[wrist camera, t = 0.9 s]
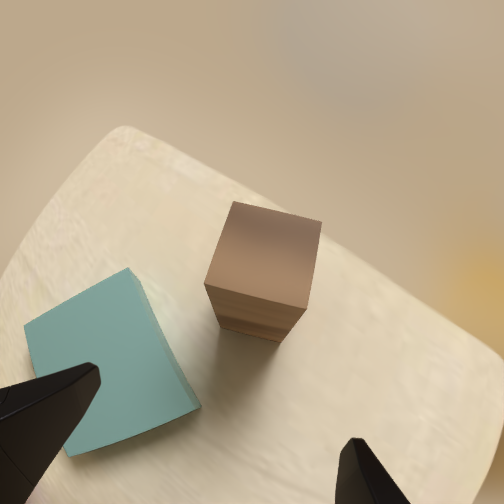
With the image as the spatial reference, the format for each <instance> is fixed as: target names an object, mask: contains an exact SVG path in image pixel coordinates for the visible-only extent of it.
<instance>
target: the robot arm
mask: <svg viewBox="0 0 504 504" xmlns="http://www.w3.org/2000/svg"><path fill="white" fill-rule="evenodd" d="M100 386H101V377H100V371H99V367H98V366H97V365H95V364H93V363H91V362H85V363H82V364H79V365H76V366H73V367H70V368H67V369H64V370H61V371H58V372H55V373H52V374H49V375H45V376H42V377H39V378H36V379H32V380H29V381H26V382H22V383H19V384H15V385H12V386H11V387H10V386H8V387H4V388H1V389H0V504H25V502H26V501H27V499H28V497H29V496H30V494H31V493H32V491H33V490H34V488H35V486H36V485H37V483H38V482H39V480H40V479H41V477H42V476H43V474H44V473H45V471H46V470H47V468H48V467H49V465H50V464H51V462H52V461H53V460H54V458H55V457H56V455H57V454H58V452H59V451H60V449H61V448H62V446H63V445H64V444H65V442H66V441H67V439H68V438H69V437H70V435H71V434H72V432H73V431H74V429H75V428H76V427H77V425H78V424H79V422H80V421H81V420H82V418H83V417H84V415H85V413H86V412H87V410H88V408H89V406H90V404H91V402H92V401H93V399H94V397H95V395H96V393H97V392H98V390H99V388H100ZM335 504H410V502H409V501H408V500H407V498H406V497H405V495H404V494H403V493H402V491H401V490H400V489H399V487H398V486H397V485H396V483H395V482H394V481H393V479H392V478H391V476H390V475H389V474H388V472H387V471H386V470H385V468H384V467H383V465H382V464H381V463H380V461H379V460H378V459H377V457H376V456H375V454H374V453H373V452H372V450H371V449H370V447H369V446H368V445H367V443H366V442H365V440H364V439H362V438H351V439H350V440H349V441H348V443H347V444H346V445H345V446H344V448H343V449H342V451H341V453H340V459H339V467H338V475H337V482H336V490H335Z"/></svg>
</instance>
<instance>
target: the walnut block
mask: <svg viewBox="0 0 504 504" xmlns="http://www.w3.org/2000/svg"><path fill="white" fill-rule="evenodd" d="M321 224H322V222H320V221H316V220H312V219H308V218H304V217H300V216H296V215H292V214H288V213H283V212H279V211H275V210H271V209H266V208H262V207H257V206H253V205H248V204H244V203H239V202H235V201H233V203H232V206H231V209H230V211H229V214H228V217H227V219H226V222H225V225H224V228H223V230H222V233H221V236H220V239H219V241H218V244H217V247H216V250H215V253H214V255H213V258H212V261H211V264H210V267H209V270H208V273H207V275H206V278H205V281H204V285H205V288H206V291H207V293H208V296H209V299H210V301H211V304H212V307H213V309H214V312H215V315H216V317H217V320H218V322H219V325H220V327H221V328H225V329H229V330H232V331H236V332H240V333H244V334H248V335H251V336H255V337H259V338H263V339H268V340H272V341H276V342H280V343H281V342H282V341H283V339H284V338H285V337H286V336H287V334H288V333H289V332H290V331H291V329H292V328H293V327H294V325H295V324H296V323H297V321H298V320H299V319H300V317H301V316H302V315H303V313H304V312H305V311H306V309H307V305H308V300H309V295H310V290H311V284H312V279H313V273H314V268H315V262H316V256H317V250H318V244H319V238H320V231H321Z"/></svg>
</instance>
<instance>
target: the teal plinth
mask: <svg viewBox="0 0 504 504" xmlns="http://www.w3.org/2000/svg"><path fill="white" fill-rule="evenodd" d="M24 330H25V335H26V339H27V344H28V348H29V352H30V356H31V360H32V363H33V367H34V371H35V374H36V377H37V378H39V377H42V376H45V375H49V374H52V373H55V372H58V371H61V370H64V369H67V368H70V367H73V366H76V365H79V364H82V363H85V362H91V363H93V364H95V365H97V366H98V367H99V371H100V377H101V386H100V388H99V390H98V392H97V393H96V395H95V397H94V399H93V401H92V402H91V404H90V406H89V408H88V410H87V412H86V413H85V415H84V417H83V418H82V420H81V421H80V422H79V424H78V425H77V427H76V428H75V429H74V431H73V432H72V434H71V435H70V437H69V438H68V439H67V441H66V442H65V444H64V445H63V447H64V449H65V451H66V453H67V455H68V457H71V456H75V455H78V454H82V453H86V452H89V451H92V450H95V449H98V448H101V447H104V446H107V445H110V444H113V443H116V442H119V441H122V440H124V439H127V438H130V437H132V436H135V435H138V434H140V433H143V432H145V431H148V430H150V429H153V428H155V427H158V426H160V425H162V424H165V423H167V422H169V421H172V420H174V419H176V418H178V417H181V416H183V415H185V414H187V413H189V412H191V411H194V410H196V409H198V408H200V407H202V406H201V404H200V403H199V401H198V399H197V397H196V396H195V394H194V392H193V390H192V389H191V387H190V385H189V383H188V381H187V380H186V378H185V376H184V374H183V372H182V370H181V368H180V366H179V364H178V363H177V361H176V359H175V357H174V355H173V353H172V351H171V349H170V347H169V345H168V343H167V341H166V339H165V337H164V334H163V332H162V330H161V328H160V326H159V324H158V322H157V319H156V317H155V315H154V313H153V311H152V308H151V306H150V304H149V301H148V299H147V297H146V294H145V292H144V290H143V287H142V285H141V282H140V281H139V279H138V278H137V277H136V276H135V275H134V274H133V272H132V271H131V270H130V269H129V268H126V269H124V270H122V271H120V272H118V273H116V274H114V275H112V276H111V277H109V278H107V279H105V280H103V281H101V282H99V283H98V284H96V285H94V286H92V287H90V288H88V289H87V290H85V291H83V292H81V293H79V294H78V295H76V296H74V297H72V298H70V299H69V300H67V301H65V302H63V303H62V304H60V305H58V306H56V307H55V308H53V309H51V310H49V311H48V312H46V313H44V314H42V315H41V316H39V317H37V318H36V319H34V320H32V321H31V322H29V323H27V324H26V325H24Z"/></svg>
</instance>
